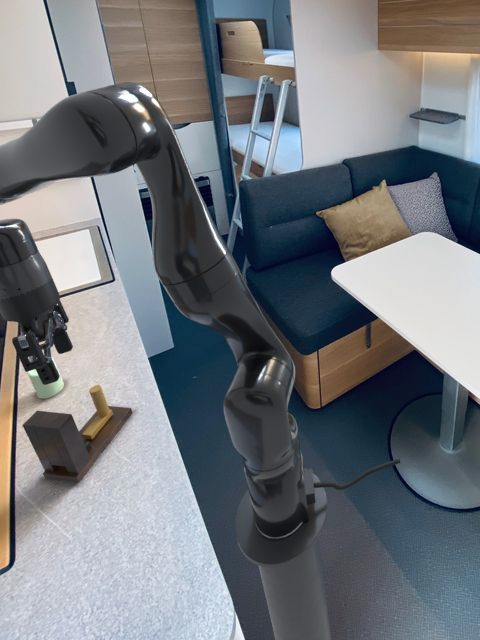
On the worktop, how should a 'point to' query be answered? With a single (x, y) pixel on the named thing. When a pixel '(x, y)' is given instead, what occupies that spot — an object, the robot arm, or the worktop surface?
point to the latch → (70, 442)
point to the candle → (42, 389)
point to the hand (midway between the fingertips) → (59, 365)
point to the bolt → (101, 410)
